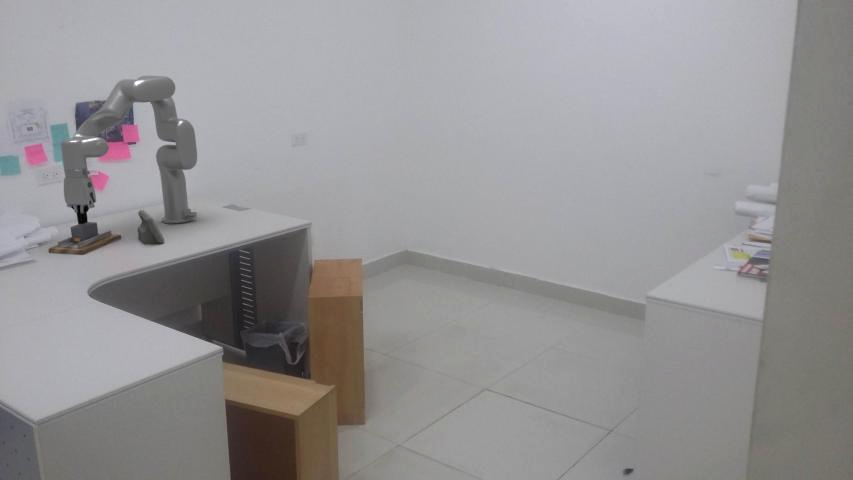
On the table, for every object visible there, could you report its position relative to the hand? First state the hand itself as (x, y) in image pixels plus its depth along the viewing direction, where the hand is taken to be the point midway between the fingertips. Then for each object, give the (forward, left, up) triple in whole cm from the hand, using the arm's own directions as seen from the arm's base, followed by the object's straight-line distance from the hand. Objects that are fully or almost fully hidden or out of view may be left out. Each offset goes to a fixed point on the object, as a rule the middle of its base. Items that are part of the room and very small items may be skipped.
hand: (83, 223), depth 268 cm
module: (0, 0, -7) cm, 7 cm away
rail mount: (0, 0, -9) cm, 9 cm away
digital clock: (-20, -11, -9) cm, 25 cm away
